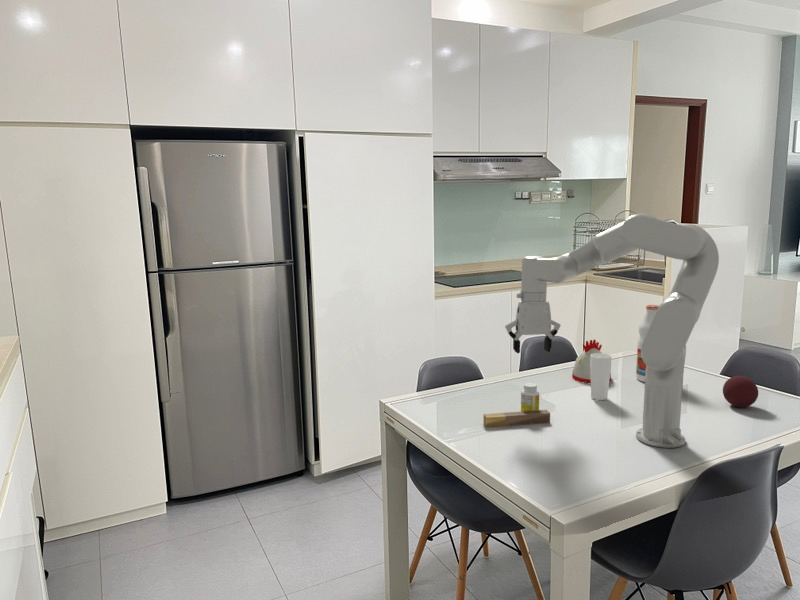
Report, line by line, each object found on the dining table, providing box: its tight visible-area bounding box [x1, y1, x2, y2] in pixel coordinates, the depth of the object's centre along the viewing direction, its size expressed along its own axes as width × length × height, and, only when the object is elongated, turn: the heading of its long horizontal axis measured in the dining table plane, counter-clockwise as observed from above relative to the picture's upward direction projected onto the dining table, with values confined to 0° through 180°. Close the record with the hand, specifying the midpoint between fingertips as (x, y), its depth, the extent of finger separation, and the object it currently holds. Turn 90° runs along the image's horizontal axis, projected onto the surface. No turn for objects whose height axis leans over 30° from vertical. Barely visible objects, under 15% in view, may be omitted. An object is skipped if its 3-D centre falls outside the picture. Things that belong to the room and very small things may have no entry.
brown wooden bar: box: [482, 409, 551, 428], centre depth 181 cm, size 3×20×3 cm, turn 99°
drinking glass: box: [590, 352, 612, 401], centre depth 201 cm, size 7×7×15 cm
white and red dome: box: [571, 339, 612, 385], centre depth 224 cm, size 14×14×15 cm
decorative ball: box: [722, 375, 759, 408], centre depth 192 cm, size 10×10×10 cm
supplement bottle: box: [520, 382, 540, 412], centre depth 186 cm, size 6×6×10 cm
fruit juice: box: [635, 304, 660, 383], centre depth 220 cm, size 9×9×28 cm
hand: (532, 351), depth 184 cm, fingers open, 9 cm apart
